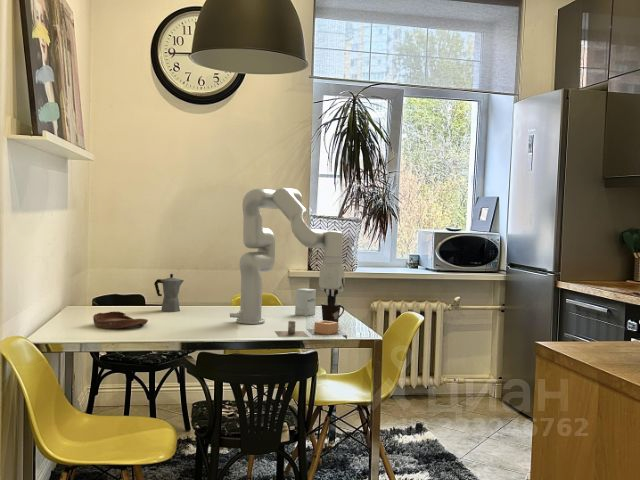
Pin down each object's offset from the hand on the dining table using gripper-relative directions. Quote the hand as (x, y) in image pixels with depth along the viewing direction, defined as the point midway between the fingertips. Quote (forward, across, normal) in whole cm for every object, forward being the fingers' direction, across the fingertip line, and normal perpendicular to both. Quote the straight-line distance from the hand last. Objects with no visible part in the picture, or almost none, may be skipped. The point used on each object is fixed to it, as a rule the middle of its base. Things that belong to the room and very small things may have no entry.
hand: (331, 305), depth 275 cm
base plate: (+12, 0, -3) cm, 13 cm away
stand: (+12, -8, -16) cm, 22 cm away
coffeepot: (+12, -93, -2) cm, 94 cm away
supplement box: (+12, -40, +38) cm, 57 cm away
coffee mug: (+12, -11, +19) cm, 25 cm away
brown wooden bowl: (+12, -74, -47) cm, 88 cm away
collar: (+11, 0, -3) cm, 11 cm away
